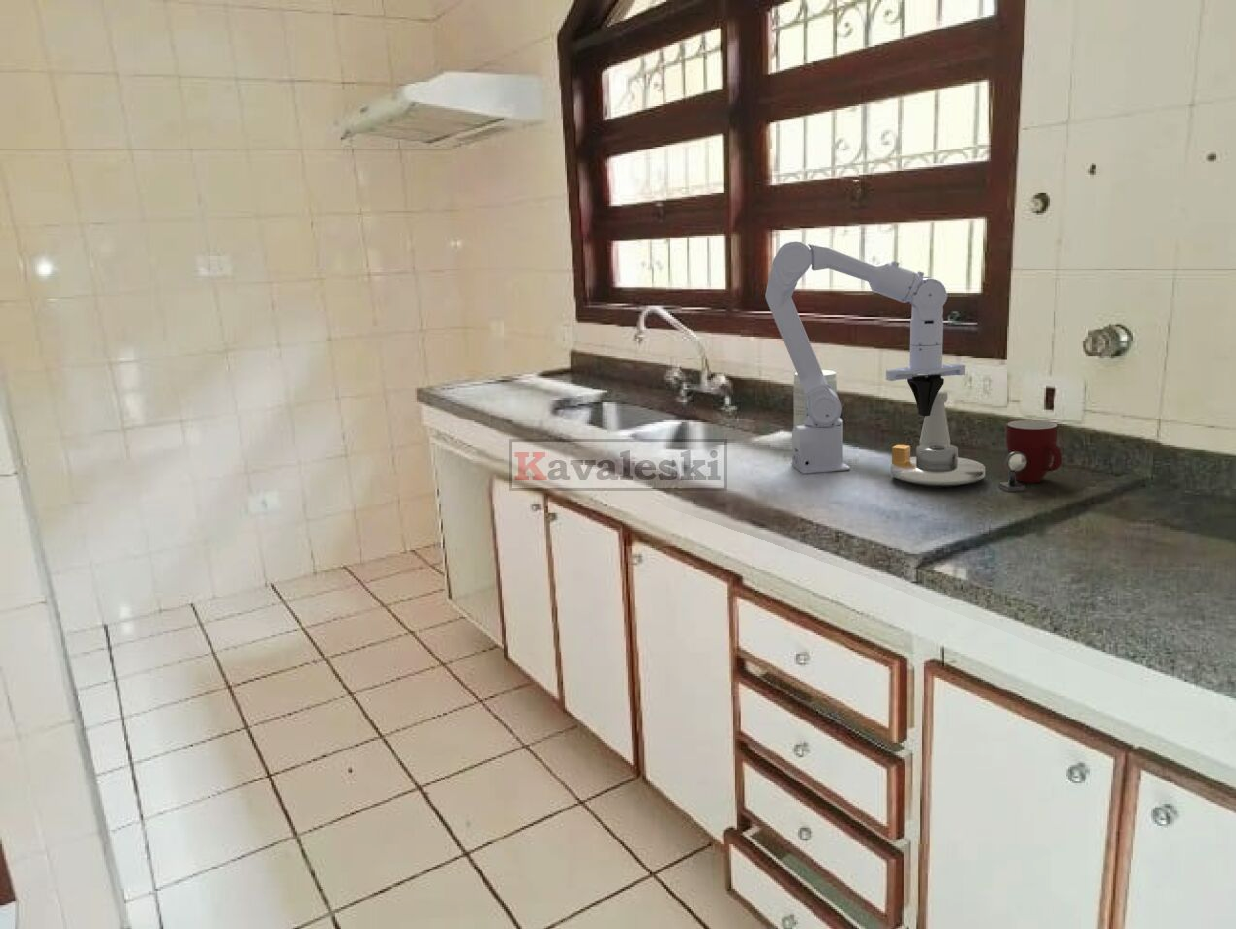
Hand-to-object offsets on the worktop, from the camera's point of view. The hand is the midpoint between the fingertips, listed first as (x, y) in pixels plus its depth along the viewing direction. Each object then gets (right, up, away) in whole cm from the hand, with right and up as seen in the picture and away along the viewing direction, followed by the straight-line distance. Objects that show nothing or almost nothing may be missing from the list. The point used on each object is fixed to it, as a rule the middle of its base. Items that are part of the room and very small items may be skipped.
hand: (924, 415), depth 159 cm
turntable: (0, -11, -8) cm, 13 cm away
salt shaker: (+6, -7, +11) cm, 14 cm away
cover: (-1, -10, -8) cm, 13 cm away
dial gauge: (+9, -14, -15) cm, 23 cm away
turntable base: (0, -12, -7) cm, 14 cm away
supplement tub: (-13, -3, +33) cm, 35 cm away
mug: (+15, -12, -12) cm, 23 cm away
